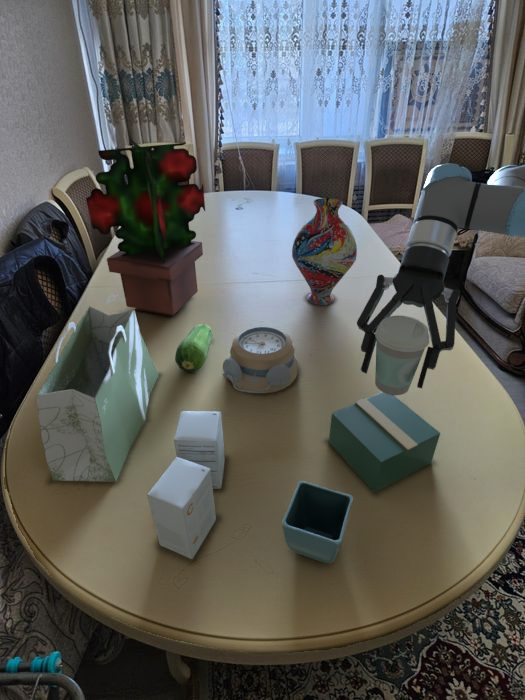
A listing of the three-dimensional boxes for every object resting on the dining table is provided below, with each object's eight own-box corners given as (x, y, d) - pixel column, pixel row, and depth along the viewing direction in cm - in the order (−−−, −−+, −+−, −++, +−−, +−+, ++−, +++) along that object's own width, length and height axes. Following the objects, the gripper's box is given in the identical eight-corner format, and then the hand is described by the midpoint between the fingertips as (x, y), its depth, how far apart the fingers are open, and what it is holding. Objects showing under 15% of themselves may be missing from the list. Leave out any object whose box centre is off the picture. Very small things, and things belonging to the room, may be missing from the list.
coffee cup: (393, 407, 74) (405, 347, 67) (357, 380, 80) (365, 323, 73) (427, 389, 78) (443, 330, 71) (391, 364, 84) (402, 308, 77)
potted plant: (151, 284, 150) (127, 137, 124) (211, 293, 144) (199, 141, 118) (112, 315, 133) (75, 152, 107) (179, 328, 126) (156, 158, 101)
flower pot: (297, 513, 77) (299, 479, 72) (348, 530, 74) (354, 495, 69) (280, 559, 70) (280, 524, 65) (335, 579, 67) (340, 544, 62)
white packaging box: (187, 458, 87) (180, 409, 80) (225, 459, 87) (222, 410, 80) (180, 489, 81) (172, 439, 74) (221, 490, 81) (217, 440, 73)
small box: (185, 506, 78) (176, 455, 71) (217, 519, 76) (211, 467, 68) (158, 546, 72) (145, 494, 64) (192, 561, 70) (183, 509, 62)
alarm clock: (303, 324, 110) (288, 382, 91) (301, 355, 115) (287, 415, 97) (236, 317, 113) (208, 372, 94) (237, 347, 118) (211, 405, 100)
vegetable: (176, 347, 103) (200, 306, 120) (166, 368, 107) (190, 326, 124) (205, 361, 104) (224, 319, 121) (194, 382, 108) (214, 338, 125)
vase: (293, 314, 132) (297, 213, 115) (288, 285, 148) (290, 193, 131) (356, 313, 133) (369, 212, 116) (345, 284, 148) (355, 192, 131)
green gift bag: (123, 482, 82) (95, 383, 69) (49, 480, 83) (7, 382, 70) (161, 375, 109) (146, 289, 95) (104, 374, 109) (82, 288, 96)
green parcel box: (432, 463, 85) (441, 432, 81) (375, 493, 80) (382, 462, 75) (381, 418, 96) (387, 388, 91) (327, 441, 90) (331, 411, 86)
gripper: (490, 273, 76) (457, 400, 74) (368, 252, 84) (333, 366, 82) (498, 255, 69) (461, 394, 67) (363, 234, 77) (325, 358, 75)
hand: (391, 378), depth 74 cm, fingers closed on coffee cup, 8 cm apart
